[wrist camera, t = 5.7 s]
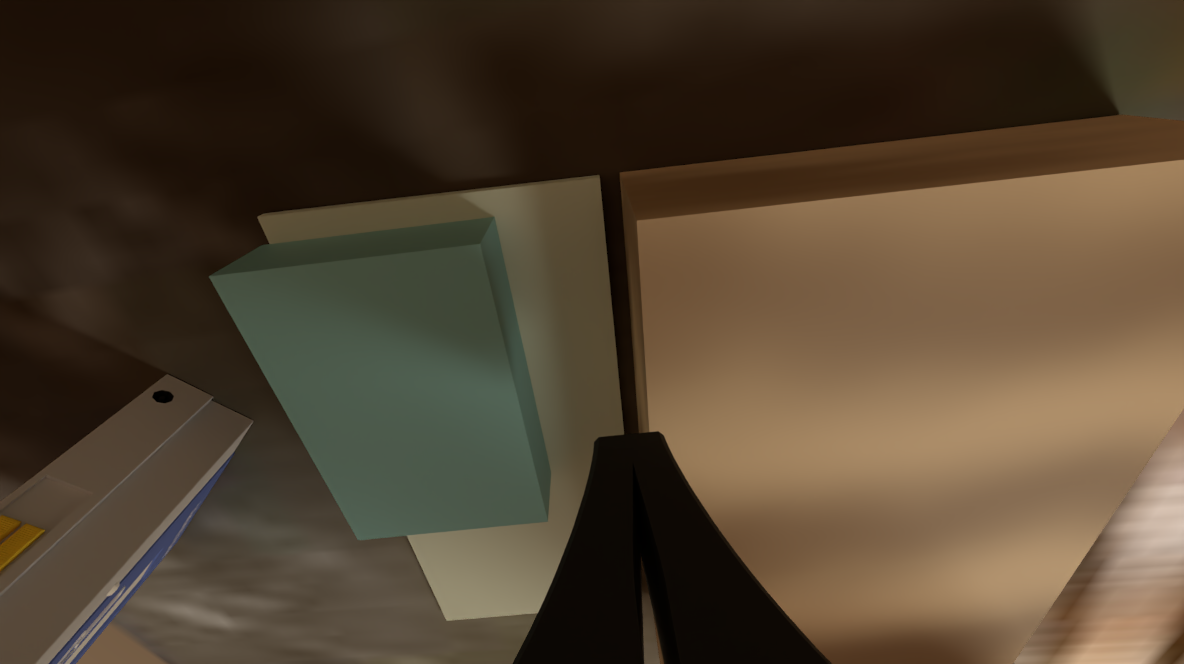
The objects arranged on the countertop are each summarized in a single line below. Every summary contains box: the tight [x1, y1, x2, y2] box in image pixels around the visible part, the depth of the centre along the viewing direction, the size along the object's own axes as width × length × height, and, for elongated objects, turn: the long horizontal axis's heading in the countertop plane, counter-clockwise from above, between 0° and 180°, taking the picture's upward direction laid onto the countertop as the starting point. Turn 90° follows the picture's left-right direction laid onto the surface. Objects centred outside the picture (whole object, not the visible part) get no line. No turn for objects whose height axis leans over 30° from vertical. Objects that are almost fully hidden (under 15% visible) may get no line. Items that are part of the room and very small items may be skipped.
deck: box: [619, 115, 1184, 664], centre depth 14 cm, size 18×12×4 cm, turn 6°
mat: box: [257, 175, 624, 621], centre depth 16 cm, size 18×8×1 cm, turn 6°
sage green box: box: [209, 217, 551, 540], centre depth 13 cm, size 9×6×2 cm, turn 7°
